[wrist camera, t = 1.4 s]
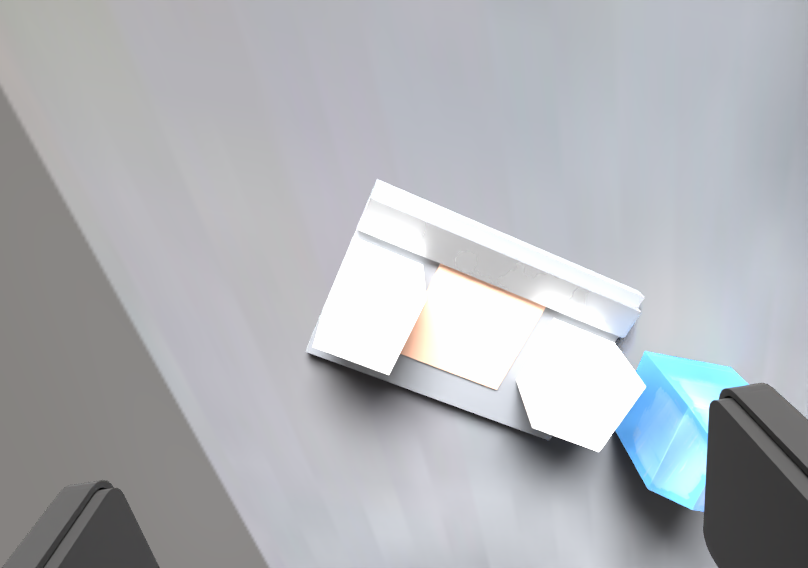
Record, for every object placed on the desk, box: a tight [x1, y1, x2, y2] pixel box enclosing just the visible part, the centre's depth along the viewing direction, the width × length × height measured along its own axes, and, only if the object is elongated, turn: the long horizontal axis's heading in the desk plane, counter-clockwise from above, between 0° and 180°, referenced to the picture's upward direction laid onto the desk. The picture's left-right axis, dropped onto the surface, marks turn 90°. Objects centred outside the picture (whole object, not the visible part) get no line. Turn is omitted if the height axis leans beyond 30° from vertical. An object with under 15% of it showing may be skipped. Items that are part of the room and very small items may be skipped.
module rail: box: [306, 179, 646, 452], centre depth 33 cm, size 18×12×6 cm, turn 67°
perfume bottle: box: [615, 351, 749, 512], centre depth 33 cm, size 6×6×12 cm
